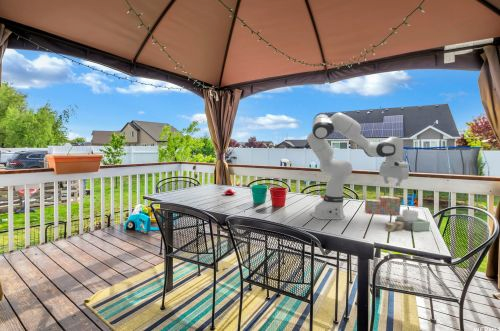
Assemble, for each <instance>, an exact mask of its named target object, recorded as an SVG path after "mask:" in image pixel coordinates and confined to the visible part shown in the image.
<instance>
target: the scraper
mask: <svg viewBox="0 0 500 331" xmlns="http://www.w3.org/2000/svg"><path fill="white" fill-rule="evenodd" d="M384 227H385V231H386V232H389V233H391V232H397V231H403V230H405V231H408V232H411V231H412V223H410V222H407V221H404V220H400V219H396V218H395V219H394V222H388V223H385V226H384ZM412 232H413V231H412Z"/></svg>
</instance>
